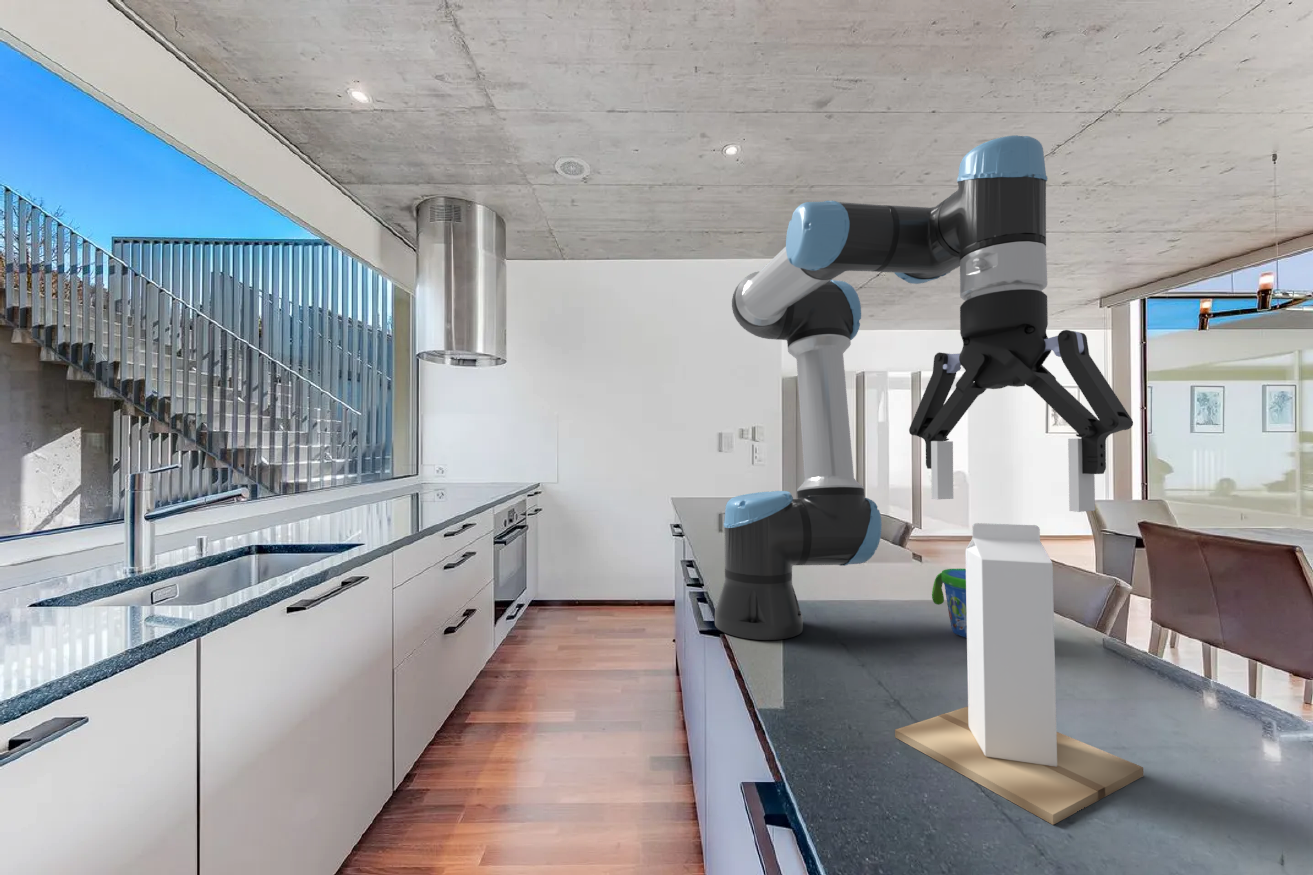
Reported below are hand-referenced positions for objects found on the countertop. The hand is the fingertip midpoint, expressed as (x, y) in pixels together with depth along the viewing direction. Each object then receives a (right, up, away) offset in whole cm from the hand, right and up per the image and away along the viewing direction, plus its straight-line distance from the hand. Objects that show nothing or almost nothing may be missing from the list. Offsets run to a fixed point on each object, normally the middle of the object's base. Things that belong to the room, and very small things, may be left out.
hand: (1004, 504), depth 54 cm
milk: (0, -24, -1) cm, 24 cm away
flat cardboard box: (0, -25, -1) cm, 25 cm away
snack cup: (+18, -27, +35) cm, 47 cm away
